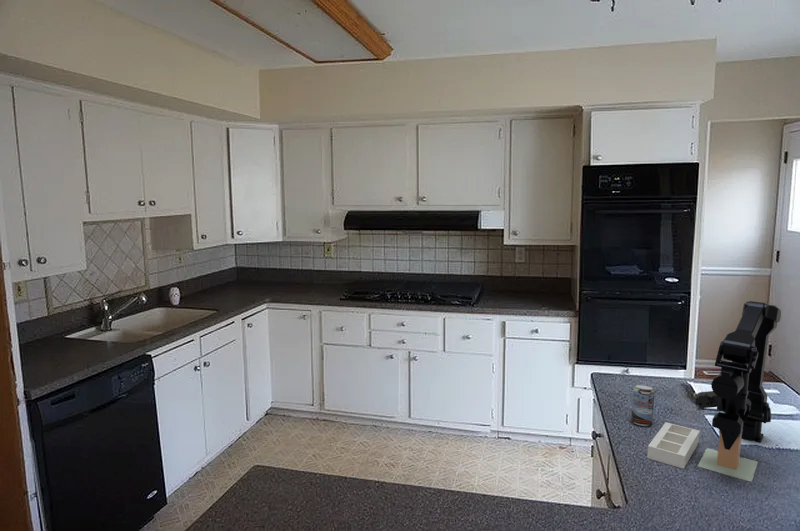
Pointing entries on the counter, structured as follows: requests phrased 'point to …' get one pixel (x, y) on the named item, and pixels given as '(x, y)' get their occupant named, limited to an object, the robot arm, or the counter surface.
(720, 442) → the tan rectangular block
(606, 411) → the counter surface
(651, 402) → the beverage can
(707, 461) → the mat
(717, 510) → the counter surface
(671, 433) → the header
